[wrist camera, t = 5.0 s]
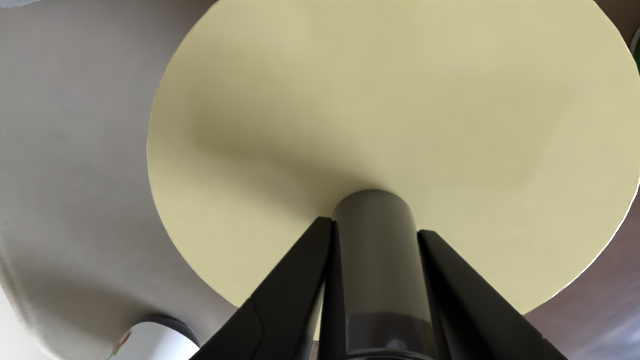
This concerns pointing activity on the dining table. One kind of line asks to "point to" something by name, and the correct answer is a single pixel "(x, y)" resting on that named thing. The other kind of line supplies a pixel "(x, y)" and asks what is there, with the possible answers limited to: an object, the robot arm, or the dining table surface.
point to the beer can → (636, 49)
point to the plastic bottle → (15, 3)
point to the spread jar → (156, 341)
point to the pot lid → (396, 152)
